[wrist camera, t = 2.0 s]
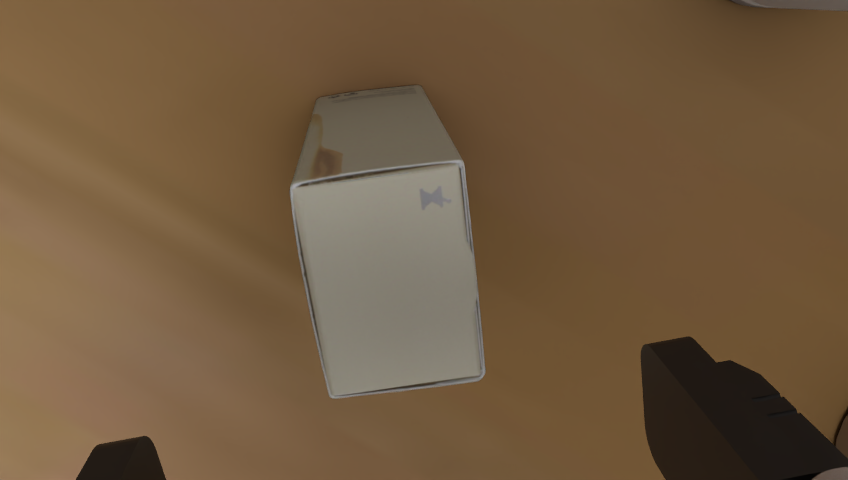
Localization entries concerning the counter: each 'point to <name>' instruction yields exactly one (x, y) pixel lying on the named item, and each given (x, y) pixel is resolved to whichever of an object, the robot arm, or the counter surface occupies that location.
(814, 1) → the travel mug
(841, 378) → the counter surface
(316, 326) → the skincare box
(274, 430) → the counter surface
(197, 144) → the counter surface
